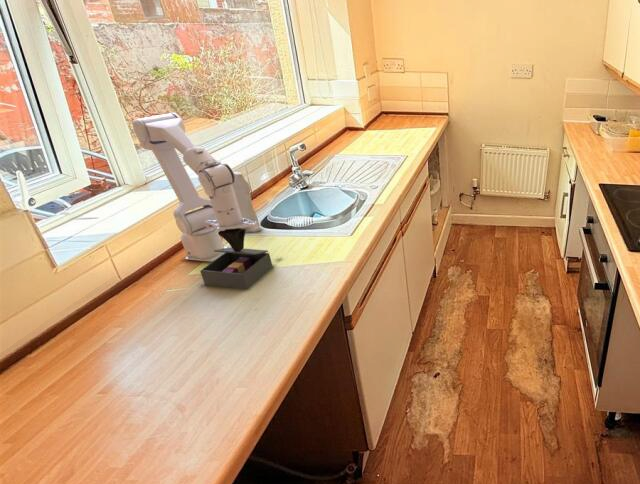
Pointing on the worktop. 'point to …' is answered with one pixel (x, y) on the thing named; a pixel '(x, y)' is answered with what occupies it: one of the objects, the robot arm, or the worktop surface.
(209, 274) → the carton
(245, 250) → the flap
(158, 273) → the worktop surface
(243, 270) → the chocolate
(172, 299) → the worktop surface
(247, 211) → the tall pale column
